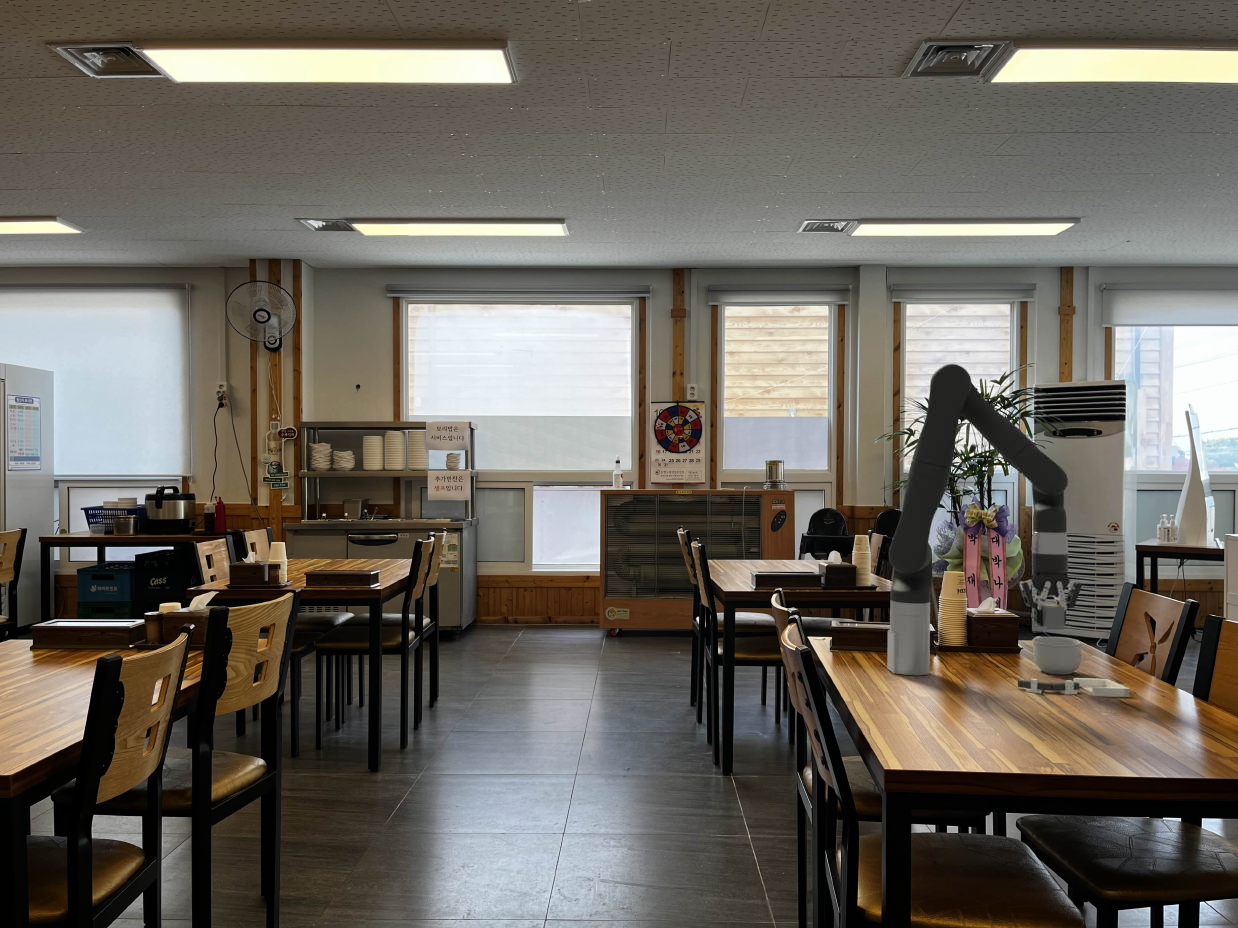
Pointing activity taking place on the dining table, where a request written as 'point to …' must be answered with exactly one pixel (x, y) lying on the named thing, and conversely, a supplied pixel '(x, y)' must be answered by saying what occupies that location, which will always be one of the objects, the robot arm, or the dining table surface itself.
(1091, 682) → the end holder
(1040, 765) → the dining table surface
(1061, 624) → the connector
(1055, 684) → the cable run
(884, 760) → the dining table surface
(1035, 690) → the clips
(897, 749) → the dining table surface
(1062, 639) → the teacup
